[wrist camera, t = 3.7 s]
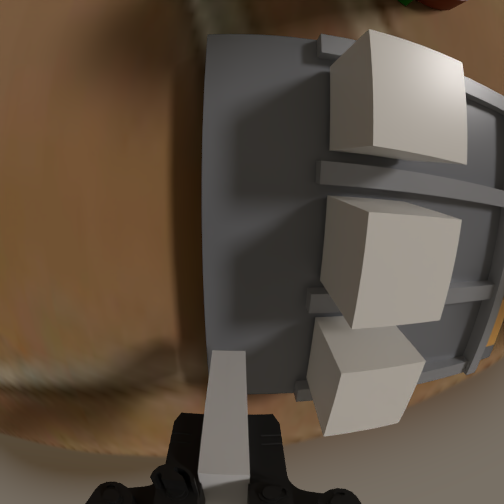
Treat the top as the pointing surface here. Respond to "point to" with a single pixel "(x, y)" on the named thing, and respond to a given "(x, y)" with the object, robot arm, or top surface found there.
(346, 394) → the tab
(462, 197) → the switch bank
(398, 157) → the light grey cube block
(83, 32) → the top surface
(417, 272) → the light grey cube
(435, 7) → the motor
